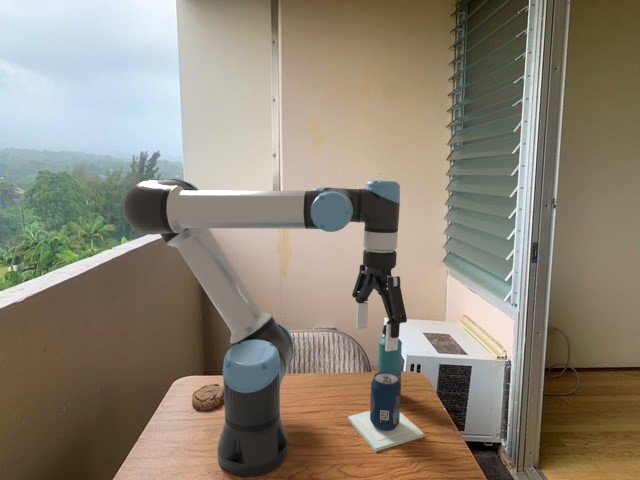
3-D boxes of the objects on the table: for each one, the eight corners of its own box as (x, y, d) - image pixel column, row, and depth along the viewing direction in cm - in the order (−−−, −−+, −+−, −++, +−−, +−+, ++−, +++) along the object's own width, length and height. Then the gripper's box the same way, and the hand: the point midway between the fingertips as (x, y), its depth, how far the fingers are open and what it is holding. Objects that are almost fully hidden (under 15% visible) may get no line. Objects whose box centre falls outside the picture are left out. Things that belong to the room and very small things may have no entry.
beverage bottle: (400, 403, 109) (403, 331, 106) (375, 400, 111) (377, 329, 107) (400, 390, 116) (403, 322, 112) (377, 388, 117) (379, 320, 114)
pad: (375, 451, 90) (375, 448, 90) (347, 419, 102) (347, 416, 102) (423, 436, 96) (423, 433, 95) (392, 407, 107) (392, 404, 107)
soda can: (371, 414, 103) (372, 369, 101) (399, 417, 101) (401, 372, 99) (368, 431, 96) (370, 383, 94) (398, 435, 95) (400, 386, 93)
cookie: (187, 413, 105) (186, 402, 104) (195, 391, 115) (194, 381, 115) (227, 411, 106) (226, 400, 105) (231, 389, 116) (231, 379, 116)
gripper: (428, 259, 83) (421, 358, 87) (367, 239, 106) (363, 318, 109) (396, 261, 80) (390, 363, 84) (341, 241, 103) (338, 322, 107)
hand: (375, 338), depth 97 cm, fingers open, 13 cm apart
